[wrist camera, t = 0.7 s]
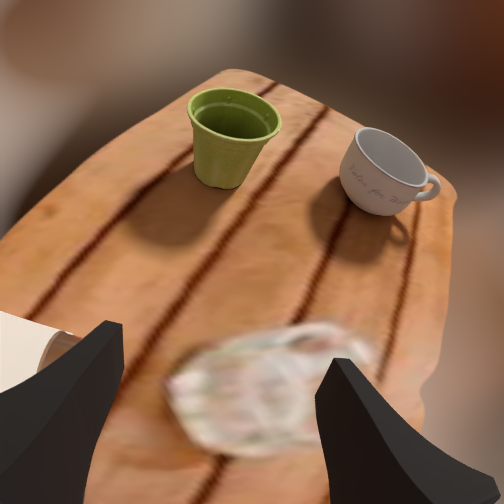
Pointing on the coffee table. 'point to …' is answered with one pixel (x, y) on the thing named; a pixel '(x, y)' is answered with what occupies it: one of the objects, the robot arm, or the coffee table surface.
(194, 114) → the plant pot
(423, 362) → the coffee table surface
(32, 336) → the mat
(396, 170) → the teacup
